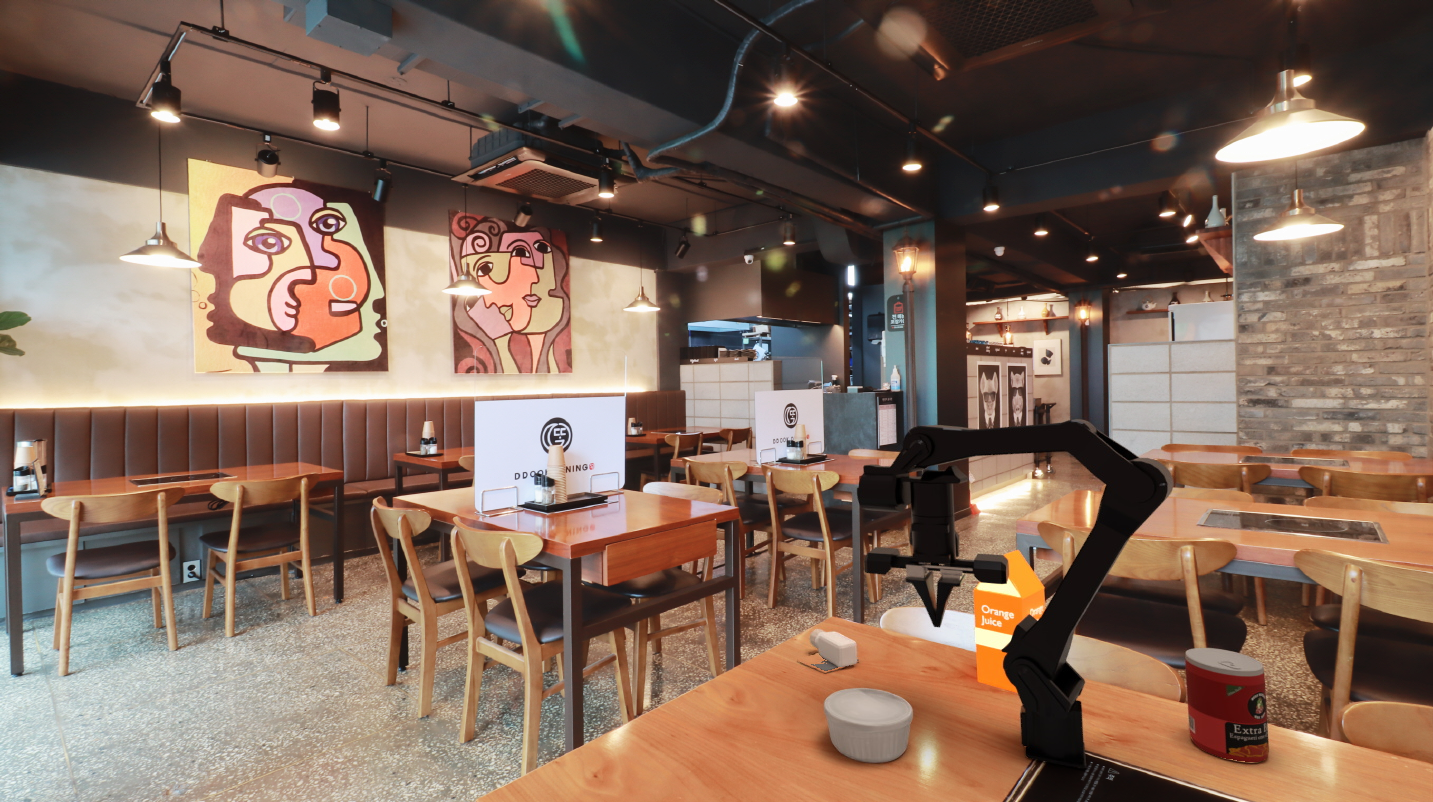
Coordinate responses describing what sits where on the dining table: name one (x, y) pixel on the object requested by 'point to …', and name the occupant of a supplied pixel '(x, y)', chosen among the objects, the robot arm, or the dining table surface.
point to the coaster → (826, 665)
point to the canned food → (1227, 704)
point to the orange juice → (1004, 617)
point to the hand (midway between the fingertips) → (937, 626)
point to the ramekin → (868, 724)
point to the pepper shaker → (834, 647)
